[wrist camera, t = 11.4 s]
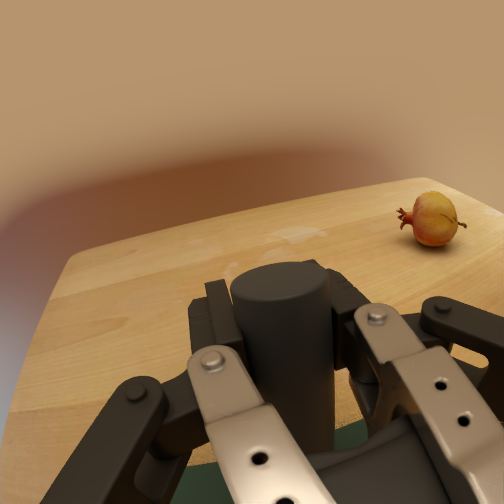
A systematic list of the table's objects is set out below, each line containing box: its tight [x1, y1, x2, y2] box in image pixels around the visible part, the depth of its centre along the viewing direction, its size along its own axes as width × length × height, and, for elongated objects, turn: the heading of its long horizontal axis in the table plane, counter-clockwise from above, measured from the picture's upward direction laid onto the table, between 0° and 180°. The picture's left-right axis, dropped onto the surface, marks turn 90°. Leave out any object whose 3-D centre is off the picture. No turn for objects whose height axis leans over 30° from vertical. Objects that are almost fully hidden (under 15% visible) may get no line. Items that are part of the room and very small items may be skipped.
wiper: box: [170, 262, 368, 504], centre depth 10 cm, size 12×3×12 cm, turn 103°
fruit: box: [396, 191, 467, 247], centre depth 33 cm, size 7×7×10 cm
